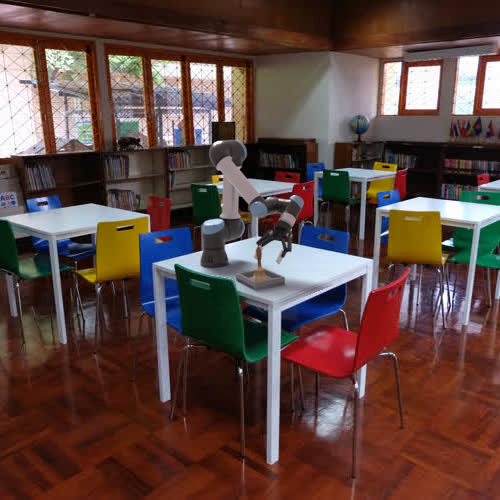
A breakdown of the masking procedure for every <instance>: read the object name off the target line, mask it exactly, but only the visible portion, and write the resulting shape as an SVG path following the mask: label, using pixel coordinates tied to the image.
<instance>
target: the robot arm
mask: <svg viewBox="0 0 500 500" xmlns="http://www.w3.org/2000/svg"><path fill="white" fill-rule="evenodd" d="M208 156H209V160H210V161H211V164H212V166H213V167H214V168H215V169H216V170H217V171H221V173H222V212H221V214H220V215H219V218H213V219H208V220H205V221H204V222H203V223H202V231H201V233H202V252H201V256H200V265H201V266H202V267H206V268H221V267H225V266H227V265H229V257H228V254H227V251H226V242H229V241H234V240H237V239H238V238H241V237H242V236H243V234H244V232H245V229H246V227H245V222H244V221H243V218H242V216H241V215H240V213H239V195H240V196H241V197H242V199H244V201H245V202H246V203H247V204H248V206H249V211H250V215H252V216H253V217H254V218H263V217H266V216H271V215H274V214H280V217H279V218H278V221H277V222H276V225H275V226H274V230H272V229H270V228H269V229H268V230H267V231H266V232H265V233H264V234H263V235H262V236H261V237H260V238H259V239H258V240H257V241H256V242H255V244H256V245H257V247H260V249H261V251H263V249H264V247H265V246H267V245H268V244H270V243H272V242H274V241H279V242H281V245H282V249H281V250H280V252H279V253H278V256H277V258H276V260H275V262H276V263H277V265H280V264H281V262H282V261H283V259H285V257H286V254H287V253H291V252H292V251H293V247H292V246H293V245H292V244H293V242H292V241H293V237H294V235H293V233H292V232H291V230H292V229H293V226H294V225H295V222H296V220H297V218H298V216H299V214H300V213H301V211H302V210H303V209H302V208H303V206H304V204H305V202H304V199H303V198H302V197H300V196H298V195H291V196H290V197H289V199H286V198H279V197H275V196H269V197H266V199H265V198H264V197H263V196H262V195H261V194H260V193H259V191H258V190H257V189H256V188H255V187H254V186H253V184H252V183H251V182H250V181H249V180H248V178H247V177H246V176H245V174H243V172H242V171H241V170H240V169H241V168H242V167H243V162H244V161H245V159H246V158H247V156H248V151H247V148H246V145H245V144H244V143H243V142H242V141H240V140H238V139H228V140H217V141H214V143H212V144H211V146H210V147H209V152H208ZM286 240H287V242H286ZM256 251H257V248H255V253H254V255H253V258H254V259H255V260H257V256H256ZM257 261H258V260H257Z"/></svg>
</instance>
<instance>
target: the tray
mask: <svg viewBox="0 0 500 500" xmlns="http://www.w3.org/2000/svg"><path fill="white" fill-rule="evenodd" d="M263 268H264V271H265V275H266V276H267V277H268V280H262V281H257V282H256V281H254V280H252V279H251V278H252V277H253V276H254V273H255V269H252V270H247V271H240V272H236V273H235V279H236V281H237V282H239V283H241V284H243V285H244V286H246V287H248V288H250V289H252V290H253V291H258V290H265V289H267V288H273V287H279V286H284V285H285V283H286V277H285V276H284V275H281V274H278V273H276V272H274V271H272V270H270V269H267V268H265V267H263Z"/></svg>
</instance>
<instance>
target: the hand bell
mask: <svg viewBox="0 0 500 500" xmlns="http://www.w3.org/2000/svg"><path fill="white" fill-rule="evenodd" d="M256 249H257V251H256V250H255V252H256V256H257V267H255V268H254V270H255V273H254V276H253V277H252V278H251V279H252V280H254V281H256V282H257V281H262V280H268V277H267V276H266V275H265V271H264V268H265V267H262V256H263V252H262V251H263V250H262V251H261V249H260V247H258V246H257V247H256Z"/></svg>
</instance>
